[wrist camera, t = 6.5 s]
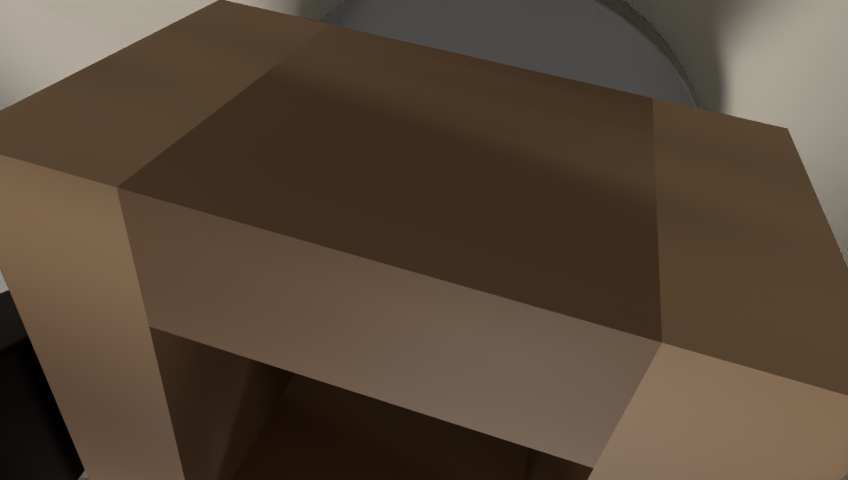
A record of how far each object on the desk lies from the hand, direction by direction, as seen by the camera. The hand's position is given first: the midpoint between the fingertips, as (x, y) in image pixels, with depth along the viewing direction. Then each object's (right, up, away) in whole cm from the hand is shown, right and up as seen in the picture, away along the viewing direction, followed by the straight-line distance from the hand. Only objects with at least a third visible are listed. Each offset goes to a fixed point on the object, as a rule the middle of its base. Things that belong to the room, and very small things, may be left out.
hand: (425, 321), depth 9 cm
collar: (0, +1, +1) cm, 1 cm away
